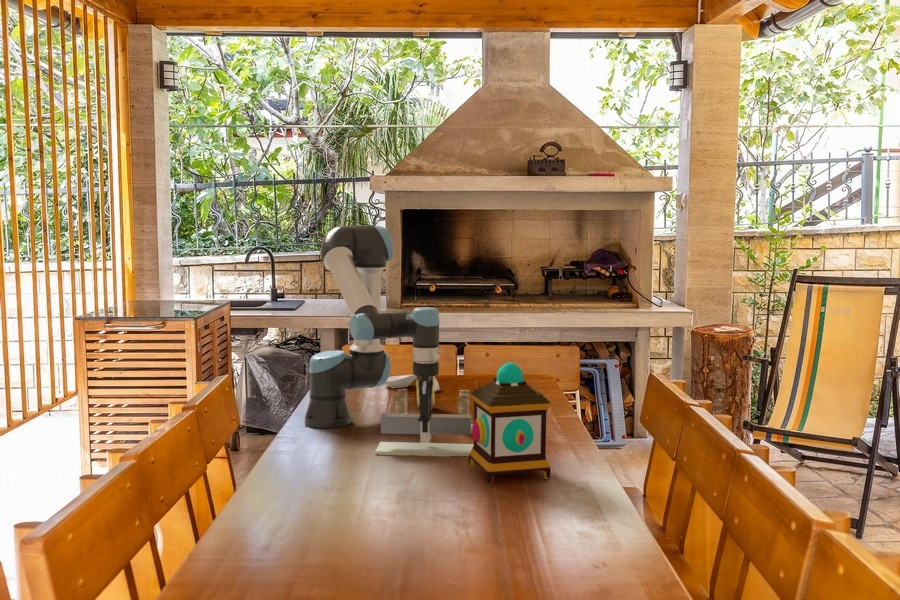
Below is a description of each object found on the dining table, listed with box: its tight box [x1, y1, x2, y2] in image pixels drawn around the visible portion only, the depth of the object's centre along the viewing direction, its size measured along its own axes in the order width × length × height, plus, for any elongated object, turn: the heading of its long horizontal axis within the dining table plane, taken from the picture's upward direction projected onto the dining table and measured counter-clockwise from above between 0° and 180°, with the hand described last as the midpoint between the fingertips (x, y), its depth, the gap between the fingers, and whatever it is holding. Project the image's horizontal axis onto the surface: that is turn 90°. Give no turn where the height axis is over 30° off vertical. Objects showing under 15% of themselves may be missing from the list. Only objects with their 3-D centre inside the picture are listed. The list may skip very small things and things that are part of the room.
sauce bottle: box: [415, 376, 436, 410], centre depth 300 cm, size 7×6×20 cm
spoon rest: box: [384, 373, 440, 393], centre depth 334 cm, size 24×12×7 cm, turn 64°
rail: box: [380, 412, 472, 436], centre depth 246 cm, size 26×4×5 cm, turn 86°
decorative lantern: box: [468, 361, 551, 485], centre depth 225 cm, size 20×20×30 cm
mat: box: [374, 441, 474, 457], centre depth 247 cm, size 28×10×1 cm, turn 86°
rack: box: [394, 388, 473, 433], centre depth 270 cm, size 26×7×12 cm, turn 86°
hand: (425, 440), depth 247 cm, fingers closed on rail, 4 cm apart
